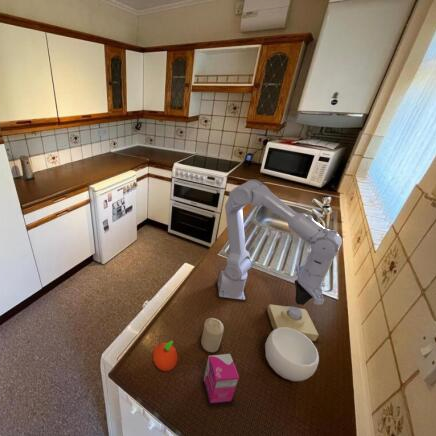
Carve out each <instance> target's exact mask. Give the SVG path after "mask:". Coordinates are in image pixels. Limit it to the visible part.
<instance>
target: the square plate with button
mask: <svg viewBox="0 0 436 436" xmlns="http://www.w3.org/2000/svg"><path fill="white" fill-rule="evenodd" d="M290 307H291V306H285V305H278V304H270V303H269V304H268V305H267V309H266V311H267V315H268V316H269V317H268V318H269V320H270V324H271V326H272V329H273V330H275V329H277V328H279V327H288V328H292V329H295V330H297V331H299V332H301V333H302V334H304V335H305V336H306V337H308V338H309V339H310V340H311V341H312V342H316V341H317V339H318V337H319V333H318V331H317V329H316V327H315V325H314V323H313V320H312V319H311V317H310V315H309V313H308V311H307V309H306V308H299V307H297V308H298V309H300V310H301V312H302V315H301V317H300V319H299V320H295V319H293V318H291V317H290V316H289V315H288V311H289V309H290ZM273 330H272V331H273Z"/></svg>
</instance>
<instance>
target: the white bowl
mask: <svg viewBox="0 0 436 436" xmlns="http://www.w3.org/2000/svg"><path fill="white" fill-rule="evenodd" d="M264 349H265V350H264V351H265V358H266V361H267V363H268V365H269V366H270V368H271V369H272V370H273V371H274V372H275V373H276V374H277V375H278V376H280V377H281V378H283V379H285V380H289V381H291V382H303V381H305V380H308V379H309V378H310V377H312V376H314V374H315V373H316V371H317V369H318V365H319V362H320V355H319V352H318V348H317V347H316V345H315V344H314V342H313V341H312V340H310V339H309V338H308V337H306V336H305V335H304V334H302V333H301V332H299V331H297V330H295V329H292V328H288V327H279V328H277V329H275V330H272V331H271V332H270V333H269V334H268V337H267V339H266V342H265V344H264Z"/></svg>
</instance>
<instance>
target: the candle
mask: <svg viewBox="0 0 436 436" xmlns="http://www.w3.org/2000/svg"><path fill="white" fill-rule="evenodd" d="M224 330H225V327H224V324H223V323H222V321H221V320H219V319H218V318H216V317H215V318H214V317H209V318H207V319H206V320H205V321H204V324H203V329H202V334H201V339H200V344H201V347H202V348H203V350H205V351H206V352H208V353H215V352H217V351H218V350H219V348H220V345H221V341H222V338H223V334H224Z"/></svg>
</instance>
